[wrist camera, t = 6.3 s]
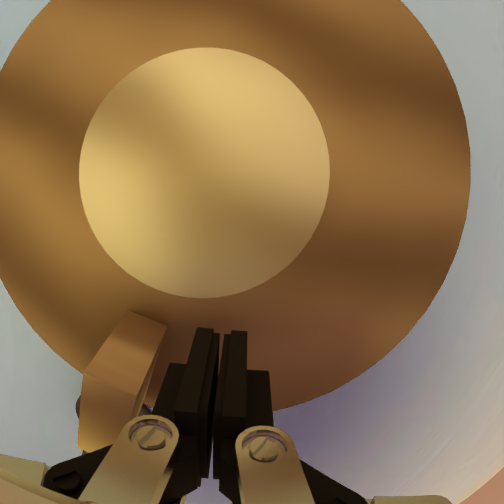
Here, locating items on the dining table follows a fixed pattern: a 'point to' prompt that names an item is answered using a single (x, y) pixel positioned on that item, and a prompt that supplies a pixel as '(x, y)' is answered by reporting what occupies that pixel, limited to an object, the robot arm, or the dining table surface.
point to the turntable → (226, 188)
